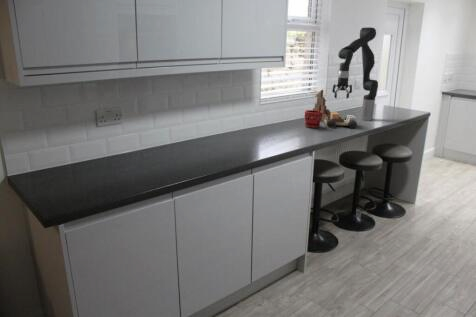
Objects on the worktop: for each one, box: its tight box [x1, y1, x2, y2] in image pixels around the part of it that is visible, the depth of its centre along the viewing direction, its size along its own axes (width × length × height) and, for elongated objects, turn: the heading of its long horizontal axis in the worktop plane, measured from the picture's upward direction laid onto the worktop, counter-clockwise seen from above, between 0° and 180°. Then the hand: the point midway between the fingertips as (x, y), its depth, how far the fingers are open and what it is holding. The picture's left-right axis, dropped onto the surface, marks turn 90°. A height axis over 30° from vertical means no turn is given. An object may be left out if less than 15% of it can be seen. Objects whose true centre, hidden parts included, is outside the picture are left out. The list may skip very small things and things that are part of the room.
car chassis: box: [323, 114, 358, 129], centre depth 304 cm, size 17×22×8 cm
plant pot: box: [304, 109, 323, 129], centre depth 296 cm, size 13×13×12 cm
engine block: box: [330, 111, 340, 119], centre depth 303 cm, size 7×5×6 cm
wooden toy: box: [311, 89, 331, 123], centre depth 318 cm, size 16×7×25 cm, turn 41°
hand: (341, 98), depth 299 cm, fingers open, 8 cm apart
